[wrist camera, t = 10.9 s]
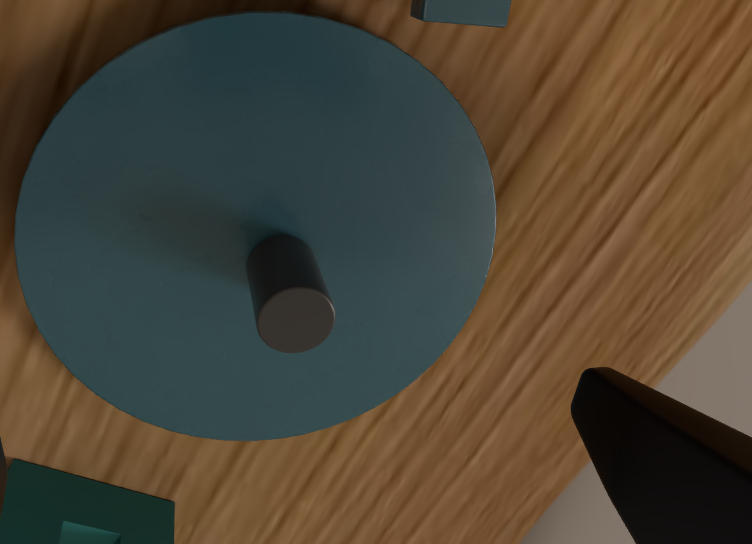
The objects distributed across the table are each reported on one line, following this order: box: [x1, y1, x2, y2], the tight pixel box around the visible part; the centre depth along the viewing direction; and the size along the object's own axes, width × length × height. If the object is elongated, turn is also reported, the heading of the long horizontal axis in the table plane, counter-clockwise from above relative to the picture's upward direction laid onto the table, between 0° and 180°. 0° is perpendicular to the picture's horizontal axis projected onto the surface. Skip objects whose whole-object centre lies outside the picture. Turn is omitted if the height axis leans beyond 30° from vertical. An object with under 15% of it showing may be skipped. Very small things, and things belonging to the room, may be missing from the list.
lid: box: [14, 10, 496, 441], centre depth 20 cm, size 16×16×5 cm
